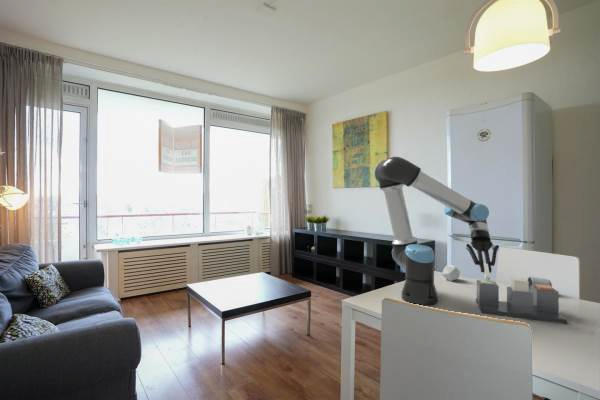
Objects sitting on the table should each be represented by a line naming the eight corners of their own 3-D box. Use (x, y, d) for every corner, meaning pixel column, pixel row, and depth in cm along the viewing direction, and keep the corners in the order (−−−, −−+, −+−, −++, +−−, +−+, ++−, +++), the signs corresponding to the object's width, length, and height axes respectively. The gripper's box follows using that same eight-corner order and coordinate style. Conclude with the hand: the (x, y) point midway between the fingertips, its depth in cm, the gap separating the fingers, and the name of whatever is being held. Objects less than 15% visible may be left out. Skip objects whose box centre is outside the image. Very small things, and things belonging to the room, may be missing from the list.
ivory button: (514, 302, 111) (514, 280, 111) (510, 299, 115) (511, 277, 115) (528, 304, 109) (528, 281, 109) (524, 300, 113) (524, 278, 113)
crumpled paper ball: (462, 283, 155) (464, 267, 160) (450, 276, 153) (452, 260, 158) (450, 285, 162) (451, 269, 167) (438, 278, 160) (440, 262, 165)
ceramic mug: (553, 296, 133) (553, 280, 133) (532, 294, 136) (532, 278, 136) (543, 290, 143) (543, 275, 143) (524, 288, 145) (524, 273, 145)
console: (481, 312, 114) (481, 288, 114) (475, 301, 126) (475, 279, 126) (567, 323, 104) (567, 297, 104) (551, 310, 116) (551, 286, 116)
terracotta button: (539, 309, 113) (539, 287, 113) (535, 305, 117) (535, 284, 117) (553, 310, 111) (553, 288, 111) (548, 306, 115) (548, 285, 115)
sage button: (482, 303, 120) (482, 282, 120) (480, 299, 124) (480, 279, 124) (494, 304, 118) (494, 283, 118) (492, 301, 122) (492, 280, 122)
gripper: (494, 239, 137) (504, 285, 121) (463, 238, 142) (468, 281, 126) (497, 229, 132) (508, 275, 116) (464, 228, 137) (470, 272, 121)
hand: (487, 278), depth 121 cm, fingers closed
